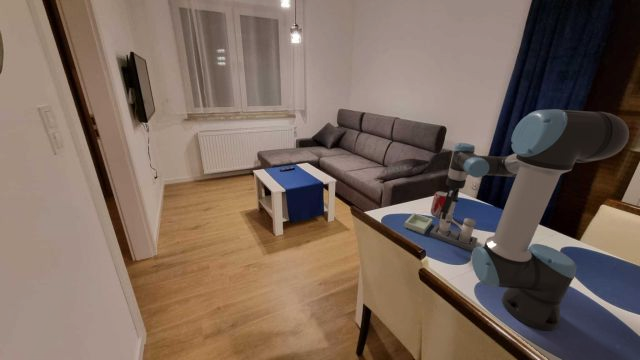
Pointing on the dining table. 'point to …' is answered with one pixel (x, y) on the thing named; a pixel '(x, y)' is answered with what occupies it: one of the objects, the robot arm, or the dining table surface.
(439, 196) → the soda can
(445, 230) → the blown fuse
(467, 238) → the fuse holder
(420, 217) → the tray
